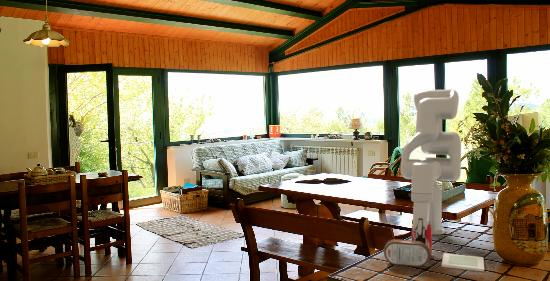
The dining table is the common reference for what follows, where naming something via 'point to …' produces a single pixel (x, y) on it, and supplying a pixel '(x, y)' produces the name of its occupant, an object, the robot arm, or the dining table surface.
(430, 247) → the soda can
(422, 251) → the tin
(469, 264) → the pad
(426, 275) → the dining table surface
